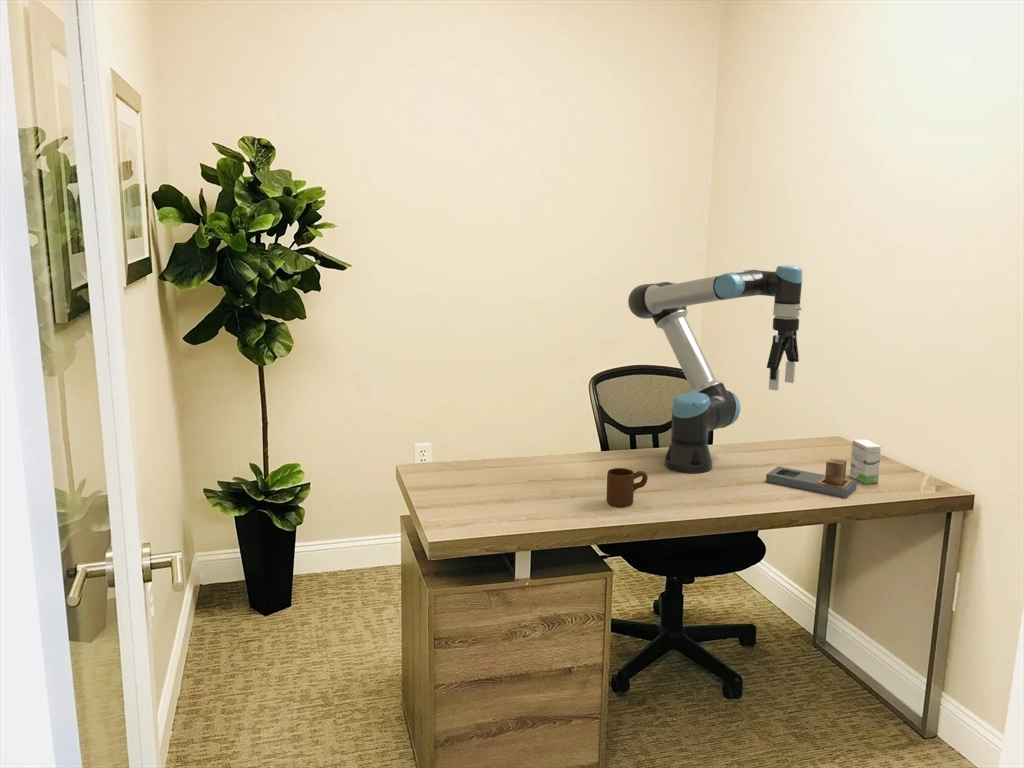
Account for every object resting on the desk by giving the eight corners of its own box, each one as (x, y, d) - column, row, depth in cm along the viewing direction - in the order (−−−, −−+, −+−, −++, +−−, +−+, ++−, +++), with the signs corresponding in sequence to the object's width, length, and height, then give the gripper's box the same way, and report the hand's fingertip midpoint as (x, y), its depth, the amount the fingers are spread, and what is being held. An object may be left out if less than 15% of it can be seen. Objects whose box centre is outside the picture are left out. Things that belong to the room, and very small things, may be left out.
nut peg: (824, 490, 253) (826, 461, 251) (828, 486, 257) (831, 458, 255) (839, 493, 251) (842, 464, 249) (844, 489, 254) (846, 460, 252)
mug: (641, 496, 248) (642, 465, 246) (651, 505, 241) (653, 473, 239) (602, 500, 245) (603, 468, 243) (611, 509, 238) (612, 476, 236)
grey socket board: (765, 481, 261) (766, 473, 261) (777, 473, 269) (778, 465, 268) (846, 498, 247) (847, 489, 246) (856, 489, 255) (857, 480, 254)
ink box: (878, 483, 260) (882, 446, 258) (863, 484, 259) (866, 446, 257) (863, 474, 268) (866, 438, 266) (848, 475, 268) (851, 439, 265)
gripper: (783, 322, 245) (778, 394, 249) (812, 314, 264) (807, 380, 269) (758, 320, 249) (754, 391, 254) (788, 312, 269) (784, 378, 273)
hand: (781, 386), depth 261 cm, fingers open, 13 cm apart
